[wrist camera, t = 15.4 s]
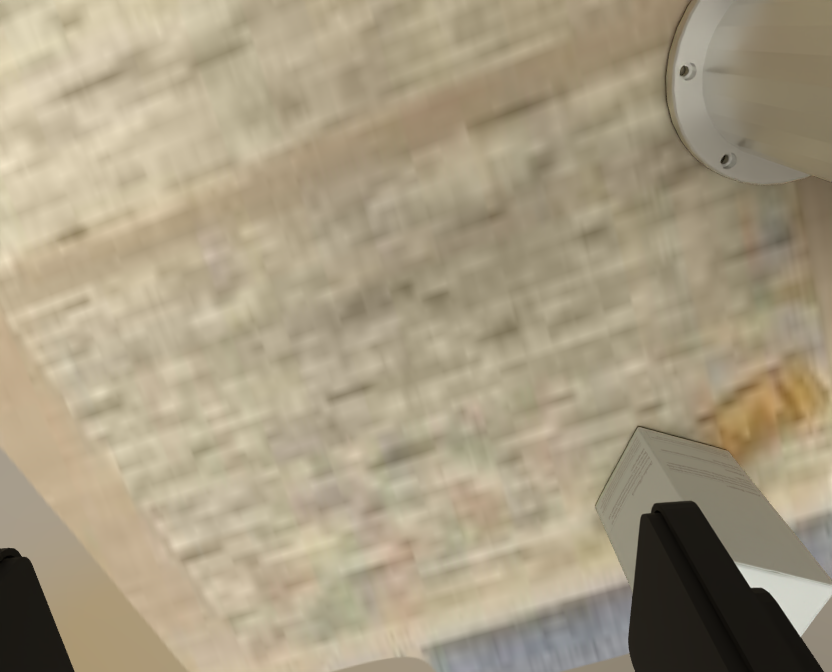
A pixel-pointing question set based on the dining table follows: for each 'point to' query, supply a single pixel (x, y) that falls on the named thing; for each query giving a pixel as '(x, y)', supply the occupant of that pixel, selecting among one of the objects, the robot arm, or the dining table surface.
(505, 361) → the dining table surface
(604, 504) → the supplement box
